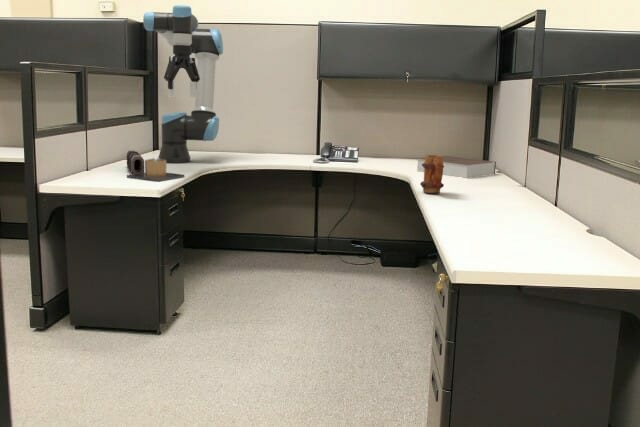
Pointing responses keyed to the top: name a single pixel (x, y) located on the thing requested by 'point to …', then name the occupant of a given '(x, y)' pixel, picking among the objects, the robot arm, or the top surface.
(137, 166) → the tube
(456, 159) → the book
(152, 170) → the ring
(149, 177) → the dark piece
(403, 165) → the top surface
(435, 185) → the mug
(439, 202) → the top surface
